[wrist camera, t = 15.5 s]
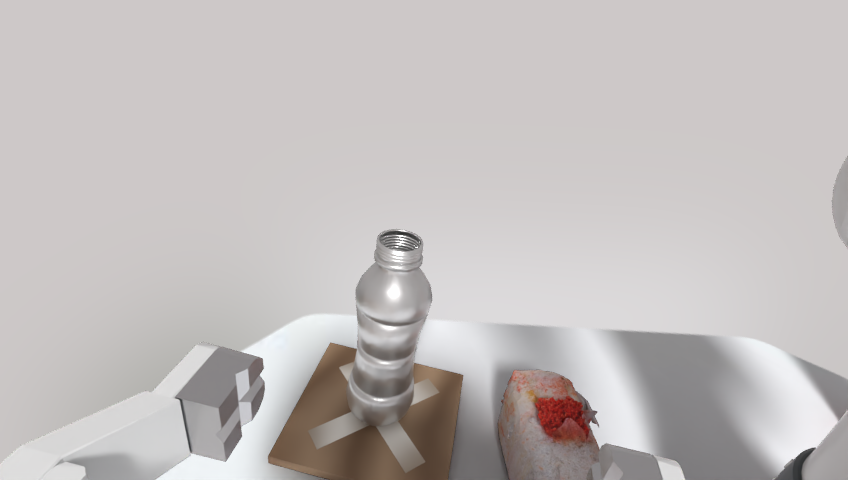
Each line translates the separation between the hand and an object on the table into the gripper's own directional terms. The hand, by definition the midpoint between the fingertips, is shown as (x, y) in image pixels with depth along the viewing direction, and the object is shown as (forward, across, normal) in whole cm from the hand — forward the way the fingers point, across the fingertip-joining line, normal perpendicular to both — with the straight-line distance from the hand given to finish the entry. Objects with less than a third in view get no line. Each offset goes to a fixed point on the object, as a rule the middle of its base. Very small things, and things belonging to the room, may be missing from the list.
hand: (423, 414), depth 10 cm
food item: (+21, -12, +30) cm, 38 cm away
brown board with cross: (+23, +5, +30) cm, 38 cm away
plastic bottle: (+23, +5, +29) cm, 37 cm away
